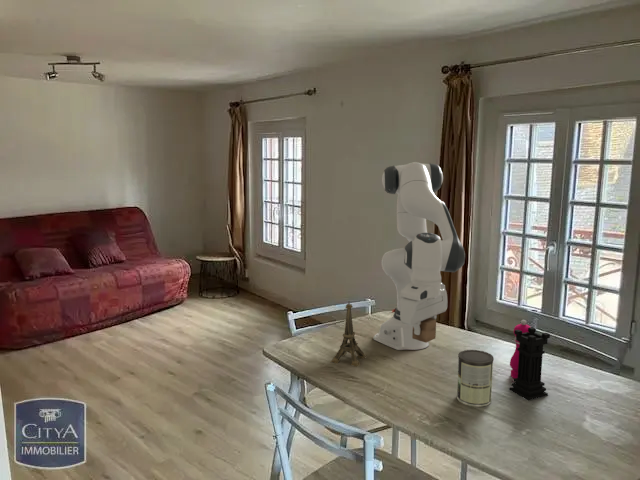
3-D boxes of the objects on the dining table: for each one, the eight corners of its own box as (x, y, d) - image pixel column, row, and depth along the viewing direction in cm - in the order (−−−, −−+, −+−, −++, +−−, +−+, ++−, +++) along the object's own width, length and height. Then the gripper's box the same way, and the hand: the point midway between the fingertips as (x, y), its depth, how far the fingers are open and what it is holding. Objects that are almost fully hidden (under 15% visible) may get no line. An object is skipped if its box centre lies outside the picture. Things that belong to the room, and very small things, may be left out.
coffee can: (450, 394, 164) (451, 351, 161) (478, 389, 167) (480, 347, 164) (469, 409, 154) (471, 364, 152) (498, 404, 157) (501, 359, 155)
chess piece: (509, 389, 167) (512, 329, 163) (528, 385, 170) (531, 326, 166) (528, 400, 159) (532, 338, 156) (547, 395, 162) (551, 334, 159)
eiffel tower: (358, 366, 186) (358, 298, 182) (330, 362, 190) (330, 296, 186) (366, 356, 195) (367, 291, 191) (340, 352, 199) (340, 289, 195)
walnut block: (412, 338, 159) (412, 319, 158) (421, 334, 162) (422, 315, 161) (426, 342, 155) (426, 323, 154) (435, 338, 159) (436, 319, 158)
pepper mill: (533, 382, 172) (537, 324, 169) (510, 380, 174) (514, 322, 170) (529, 373, 179) (533, 317, 176) (507, 371, 181) (510, 316, 177)
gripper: (436, 279, 165) (434, 321, 168) (397, 292, 151) (395, 337, 154) (453, 283, 161) (451, 325, 164) (415, 296, 147) (413, 343, 149)
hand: (424, 331), depth 159 cm, fingers closed on walnut block, 5 cm apart
